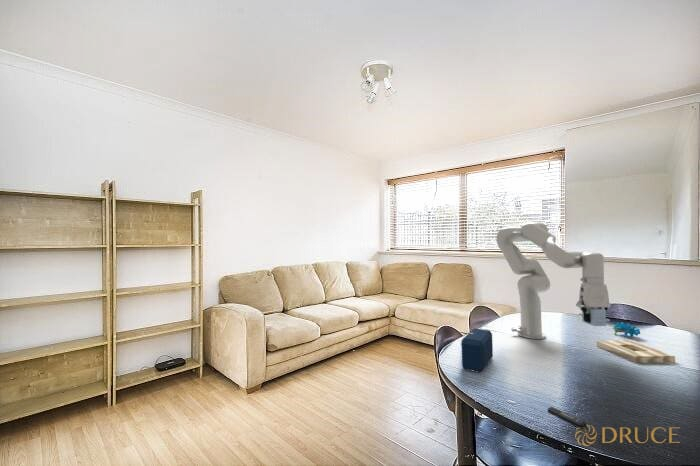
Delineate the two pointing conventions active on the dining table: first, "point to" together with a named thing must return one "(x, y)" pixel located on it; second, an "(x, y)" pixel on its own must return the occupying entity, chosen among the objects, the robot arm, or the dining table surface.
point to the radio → (477, 350)
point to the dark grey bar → (567, 417)
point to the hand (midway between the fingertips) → (593, 321)
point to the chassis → (635, 351)
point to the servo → (596, 316)
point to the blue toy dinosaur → (626, 329)
